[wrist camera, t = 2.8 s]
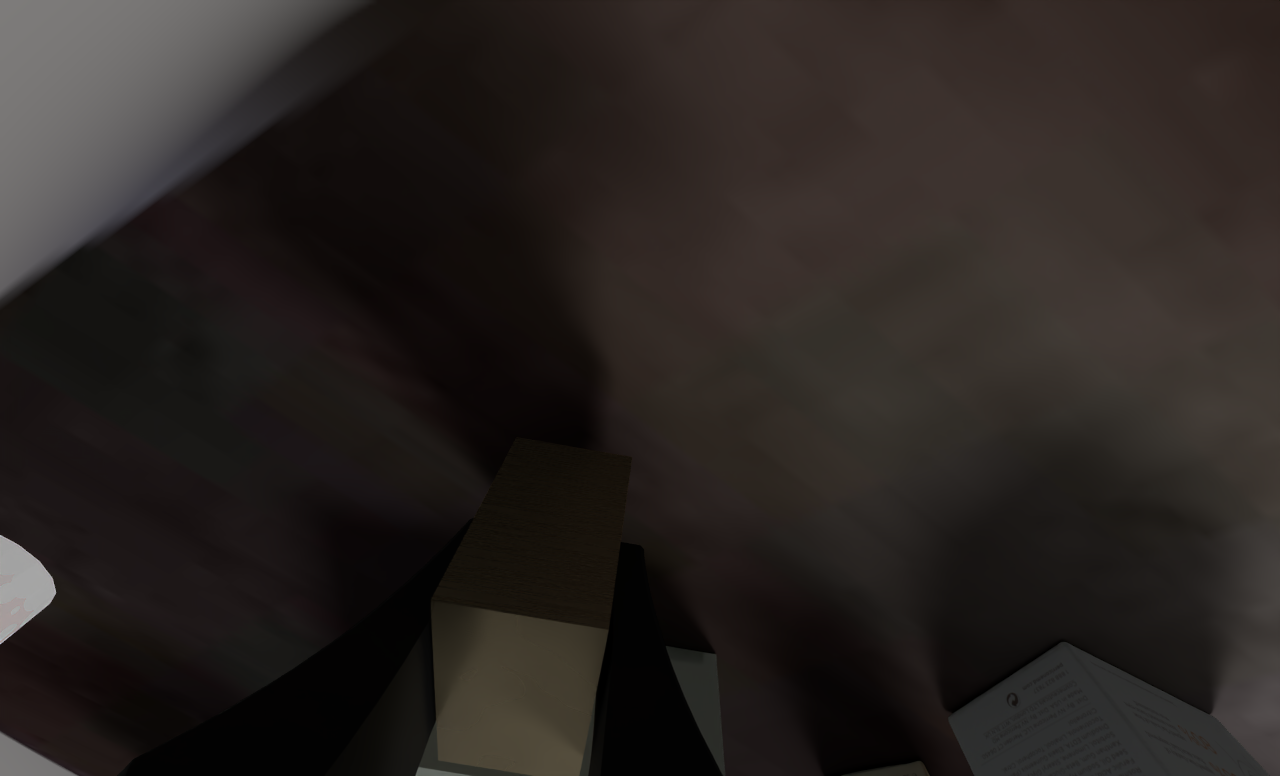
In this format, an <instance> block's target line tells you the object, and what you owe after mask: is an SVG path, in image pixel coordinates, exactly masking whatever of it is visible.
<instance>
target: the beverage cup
mask: <svg viewBox="0 0 1280 776" xmlns="http://www.w3.org/2000/svg"><path fill="white" fill-rule="evenodd" d="M55 594H56V590H55V586H54V582H53V578H52V577H51V576H50V574H49V573H48V572H47V570H46V569H45V568H44V567H43V565H42V564H41V563H40V561H38V560H37V559H36V558H35V557H33V556H32V555H31V554H30V553H28V552H27V551H26V550H25V549H23V548H22V547H21V546H19V545H18V544H16V543H14V542H12V541H10V540H8V539H7V538H5V537H3V536H1V535H0V644H1V643H2V642H4V641H5V640H6V639H7V638H9V637H10V636H11V635H12V634H13V633H15V632H16V631H17V630H18V629H19V628H21V627H22V626H23V625H24V624H26V623H27V622H28V621H29V620H30V619H32V618H33V617H34V616H35V615H36V614H38V613H39V612H40V611H41V610H43V609H44V608H45V607H46V606H47V605H49V604H50V603H51V601H52V599H53V597H54V596H55Z"/></svg>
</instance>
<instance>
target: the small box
mask: <svg viewBox="0 0 1280 776" xmlns="http://www.w3.org/2000/svg"><path fill="white" fill-rule="evenodd" d="M948 721H949V723H950V725H951V728H952V730H953V732H954V734H955V736H956V738H957V740H958V742H959V744H960V746H961V748H962V750H963V752H964V755H965V757H966V759H967V761H968V763H969V765H970V767H971V770H972V772H973V774H974V776H1270V775H1269V774H1268V773H1267V772H1266V771H1265V770H1264V769H1263V768H1262V767H1261V766H1260V765H1259V763H1258V762H1257V761H1256V760H1255V759H1254V758H1253V757H1252V756H1251V755H1250V754H1249V753H1248V752H1247V751H1246V750H1245V749H1244V747H1243V746H1242V745H1241V744H1240V743H1239V742H1238V741H1237V740H1236V739H1235V738H1234V737H1233V736H1232V735H1231V734H1230V733H1229V732H1228V731H1227V729H1226V728H1225V727H1224V726H1223V725H1222V724H1221V723H1220V722H1219V721H1218V720H1217V719H1216V718H1215V717H1213V716H1211V715H1209V714H1207V713H1205V712H1203V711H1201V710H1199V709H1197V708H1195V707H1193V706H1191V705H1189V704H1187V703H1185V702H1183V701H1181V700H1179V699H1177V698H1175V697H1173V696H1171V695H1169V694H1167V693H1165V692H1164V691H1162V690H1159V689H1157V688H1155V687H1153V686H1151V685H1149V684H1148V683H1146V682H1144V681H1142V680H1140V679H1138V678H1136V677H1134V676H1132V675H1130V674H1128V673H1126V672H1124V671H1122V670H1120V669H1118V668H1116V667H1114V666H1112V665H1110V664H1108V663H1106V662H1104V661H1102V660H1100V659H1098V658H1096V657H1094V656H1092V655H1090V654H1088V653H1086V652H1084V651H1082V650H1080V649H1078V648H1076V647H1074V646H1073V645H1071V644H1069V643H1067V642H1060V643H1059V644H1058V645H1056V646H1055V647H1053V648H1052V649H1050V650H1049V651H1047V652H1046V653H1044V654H1043V655H1041V656H1040V657H1038V658H1037V659H1035V660H1034V661H1032V662H1031V663H1029V664H1027V665H1026V666H1024V667H1023V668H1021V669H1020V670H1018V671H1017V672H1015V673H1014V674H1012V675H1011V676H1009V677H1008V678H1006V679H1005V680H1003V681H1001V682H1000V683H998V684H997V685H995V686H994V687H992V688H991V689H989V690H988V691H986V692H985V693H983V694H982V695H980V696H978V697H977V698H975V699H974V700H972V701H971V702H969V703H968V704H966V705H965V706H963V707H962V708H960V709H959V710H957V711H956V712H954V713H953V714H951V715H950V716H949V717H948Z"/></svg>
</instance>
